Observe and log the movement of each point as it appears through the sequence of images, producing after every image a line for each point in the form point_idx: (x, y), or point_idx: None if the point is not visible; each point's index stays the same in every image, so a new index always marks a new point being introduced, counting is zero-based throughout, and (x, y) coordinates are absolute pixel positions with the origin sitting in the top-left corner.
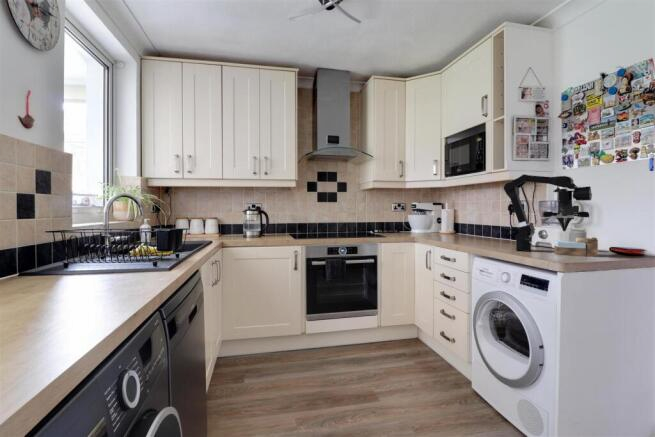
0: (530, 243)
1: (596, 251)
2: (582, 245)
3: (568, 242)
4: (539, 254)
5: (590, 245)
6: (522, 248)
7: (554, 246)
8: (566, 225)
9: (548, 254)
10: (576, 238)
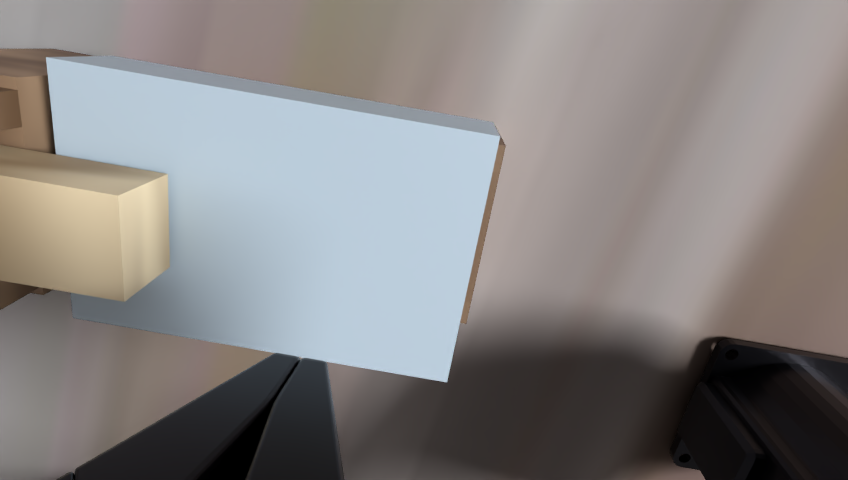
0: (748, 446)
1: (2, 52)
2: (125, 63)
3: (316, 143)
4: (723, 93)
5: (1, 69)
6: (820, 381)
7: (466, 315)
8: (153, 460)
9: (590, 131)
10: (126, 232)
